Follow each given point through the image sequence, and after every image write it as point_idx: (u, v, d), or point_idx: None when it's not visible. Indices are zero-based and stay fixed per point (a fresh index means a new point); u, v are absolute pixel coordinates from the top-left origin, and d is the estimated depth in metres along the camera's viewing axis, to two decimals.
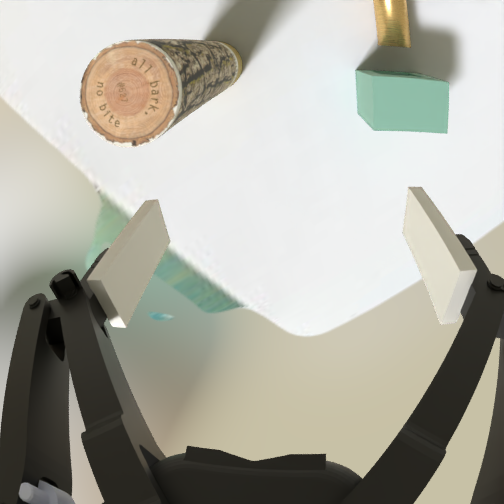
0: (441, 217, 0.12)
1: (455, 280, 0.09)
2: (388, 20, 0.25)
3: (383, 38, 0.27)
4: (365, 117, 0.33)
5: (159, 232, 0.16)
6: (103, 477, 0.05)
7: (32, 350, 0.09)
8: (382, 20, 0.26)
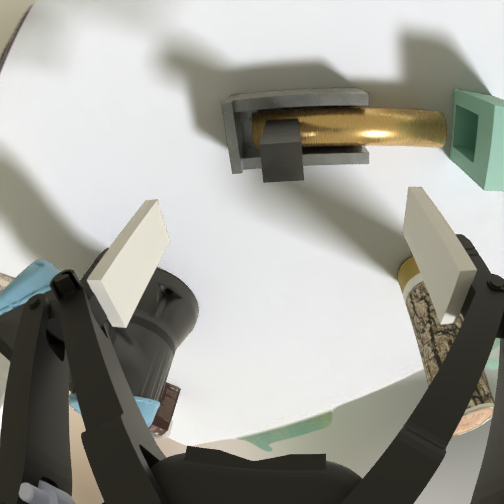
0: (441, 217, 0.12)
1: (455, 280, 0.09)
2: (419, 141, 0.28)
3: (435, 146, 0.28)
4: None
5: (159, 232, 0.16)
6: (103, 477, 0.05)
7: (32, 350, 0.09)
8: (416, 145, 0.28)
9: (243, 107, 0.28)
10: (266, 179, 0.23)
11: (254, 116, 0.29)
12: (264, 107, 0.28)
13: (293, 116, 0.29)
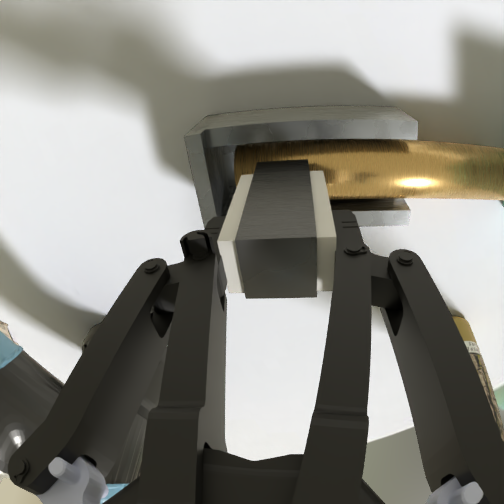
0: (327, 194, 0.14)
1: None
2: (480, 195, 0.18)
3: (498, 199, 0.18)
4: None
5: None
6: (150, 462, 0.05)
7: (129, 322, 0.09)
8: (475, 198, 0.18)
9: (220, 140, 0.19)
10: (250, 294, 0.13)
11: (238, 153, 0.19)
12: (254, 140, 0.18)
13: (300, 155, 0.19)
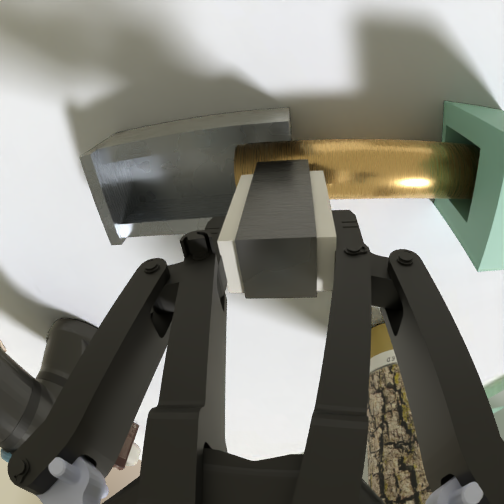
0: (327, 194, 0.14)
1: None
2: None
3: None
4: None
5: None
6: (150, 462, 0.05)
7: (129, 322, 0.09)
8: None
9: (110, 158, 0.20)
10: (250, 294, 0.13)
11: (238, 153, 0.19)
12: (135, 156, 0.20)
13: (300, 155, 0.19)
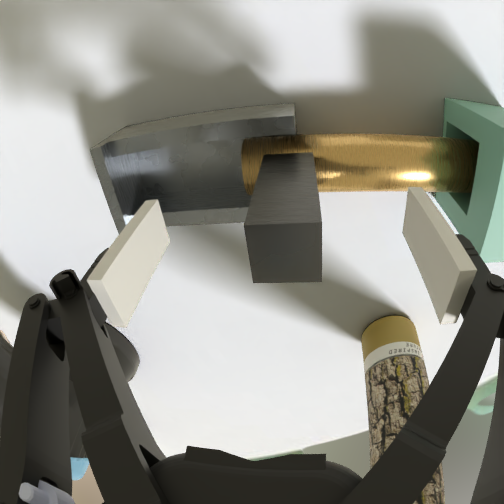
0: (441, 217, 0.12)
1: (455, 280, 0.09)
2: None
3: None
4: None
5: (159, 232, 0.16)
6: (103, 477, 0.05)
7: (32, 350, 0.09)
8: None
9: (120, 150, 0.20)
10: (258, 279, 0.14)
11: (246, 146, 0.20)
12: (145, 148, 0.20)
13: (305, 148, 0.19)
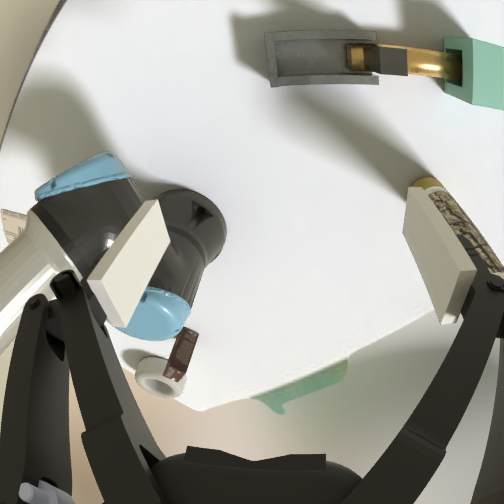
0: (441, 217, 0.12)
1: (455, 280, 0.09)
2: None
3: None
4: None
5: (159, 232, 0.16)
6: (103, 477, 0.05)
7: (32, 350, 0.09)
8: None
9: (280, 37, 0.33)
10: (383, 72, 0.26)
11: (351, 44, 0.32)
12: (296, 38, 0.32)
13: (380, 47, 0.31)
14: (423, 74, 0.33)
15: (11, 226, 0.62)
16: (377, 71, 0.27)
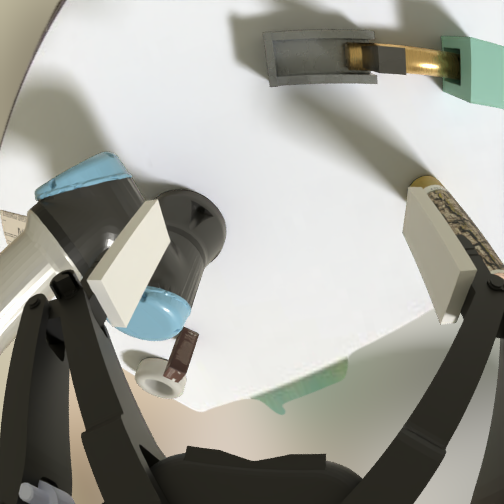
0: (441, 217, 0.12)
1: (455, 280, 0.09)
2: None
3: None
4: None
5: (159, 232, 0.16)
6: (103, 477, 0.05)
7: (32, 350, 0.09)
8: None
9: (279, 37, 0.33)
10: (381, 71, 0.26)
11: (350, 43, 0.32)
12: (295, 38, 0.33)
13: None
14: (421, 73, 0.33)
15: (10, 228, 0.62)
16: (376, 70, 0.28)
